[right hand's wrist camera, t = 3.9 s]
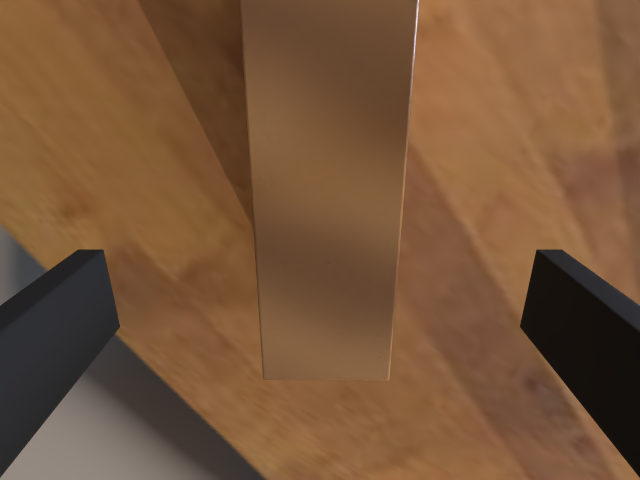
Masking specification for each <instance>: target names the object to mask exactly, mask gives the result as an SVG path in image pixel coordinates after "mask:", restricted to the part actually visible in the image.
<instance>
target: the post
mask: <svg viewBox="0 0 640 480" xmlns="http://www.w3.org/2000/svg"><path fill="white" fill-rule="evenodd" d="M239 9H240V25H241V40H242V56H243V71H244V87H245V103H246V118H247V134H248V149H249V165H250V181H251V196H252V212H253V227H254V243H255V258H256V274H257V290H258V305H259V321H260V336H261V352H262V368H263V378H264V379H265V380H376V381H388V380H389V378H390V366H391V353H392V340H393V327H394V315H395V302H396V289H397V277H398V264H399V251H400V238H401V226H402V213H403V200H404V187H405V175H406V162H407V149H408V136H409V124H410V111H411V98H412V85H413V73H414V60H415V47H416V35H417V22H418V9H419V0H239Z"/></svg>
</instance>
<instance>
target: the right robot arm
mask: <svg viewBox="0 0 640 480" xmlns="http://www.w3.org/2000/svg"><path fill="white" fill-rule="evenodd" d="M119 328H120V324H119V320H118V315H117V310H116V306H115V301H114V297H113V292H112V287H111V283H110V278H109V273H108V269H107V264H106V259H105V255H104V250H77V251H76V252H74V253H73V254H71V255H70V256H69V257H67V258H66V259H64V260H63V261H62V262H60V263H59V264H58V265H56V266H55V267H53V268H52V269H51V270H49V271H48V272H46V273H45V274H44V275H42V276H41V277H40V278H38V279H37V280H35V281H34V282H33V283H31V284H30V285H28V286H27V287H26V288H24V289H23V290H21V291H20V292H19V293H17V294H16V295H15V296H13V297H12V298H10V299H9V300H8V301H6V302H5V303H3V304H2V305H1V306H0V477H1V476H2V475H3V473H4V472H5V471H6V470H7V468H8V467H9V466H10V465H11V463H12V462H13V461H14V460H15V458H16V457H17V456H18V455H19V453H20V452H21V451H22V450H23V448H24V447H25V446H26V445H27V443H28V442H29V441H30V439H31V438H32V437H33V436H34V434H35V433H36V432H37V431H38V429H39V428H40V427H41V426H42V424H43V423H44V422H45V421H46V419H47V418H48V417H49V416H50V414H51V413H52V412H53V411H54V409H55V408H56V407H57V406H58V404H59V403H60V402H61V400H62V399H63V398H64V397H65V395H66V394H67V393H68V392H69V390H70V389H71V388H72V387H73V385H74V384H75V383H76V382H77V380H78V379H79V378H80V377H81V375H82V374H83V373H84V372H85V370H86V369H87V368H88V367H89V365H90V364H91V363H92V361H93V360H94V359H95V358H96V356H97V355H98V354H99V353H100V351H101V350H102V349H103V348H104V346H105V345H106V344H107V343H108V341H109V340H110V339H111V338H112V336H113V335H114V334H115V333H116V331H117V330H118V329H119ZM520 328H521V329H522V330H523V331H524V333H525V334H526V335H527V336H528V338H529V339H530V340H531V341H532V343H533V344H534V345H535V346H536V348H537V349H538V350H539V351H540V353H541V354H542V355H543V356H544V358H545V359H546V360H547V361H548V363H549V364H550V365H551V367H552V368H553V369H554V370H555V372H556V373H557V374H558V375H559V377H560V378H561V379H562V380H563V382H564V383H565V384H566V385H567V387H568V388H569V389H570V390H571V392H572V393H573V394H574V395H575V397H576V398H577V399H578V400H579V402H580V403H581V404H582V406H583V407H584V408H585V409H586V411H587V412H588V413H589V414H590V416H591V417H592V418H593V419H594V421H595V422H596V423H597V424H598V426H599V427H600V428H601V429H602V431H603V432H604V433H605V434H606V436H607V437H608V438H609V440H610V441H611V442H612V443H613V445H614V446H615V447H616V448H617V450H618V451H619V452H620V453H621V455H622V456H623V457H624V458H625V460H626V461H627V462H628V463H629V465H630V466H631V467H632V468H633V470H634V471H635V472H636V473H637V475H638V476H639V477H640V306H639V305H638V304H637V303H635V302H634V301H632V300H631V299H630V298H628V297H627V296H625V295H624V294H623V293H621V292H620V291H619V290H617V289H616V288H614V287H613V286H612V285H610V284H609V283H607V282H606V281H605V280H603V279H602V278H600V277H599V276H598V275H596V274H595V273H594V272H592V271H591V270H589V269H588V268H587V267H585V266H584V265H582V264H581V263H580V262H578V261H577V260H576V259H574V258H573V257H571V256H570V255H569V254H567V253H566V252H564V251H563V250H536V255H535V259H534V264H533V269H532V273H531V278H530V283H529V287H528V292H527V297H526V301H525V306H524V310H523V315H522V320H521V324H520Z"/></svg>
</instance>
